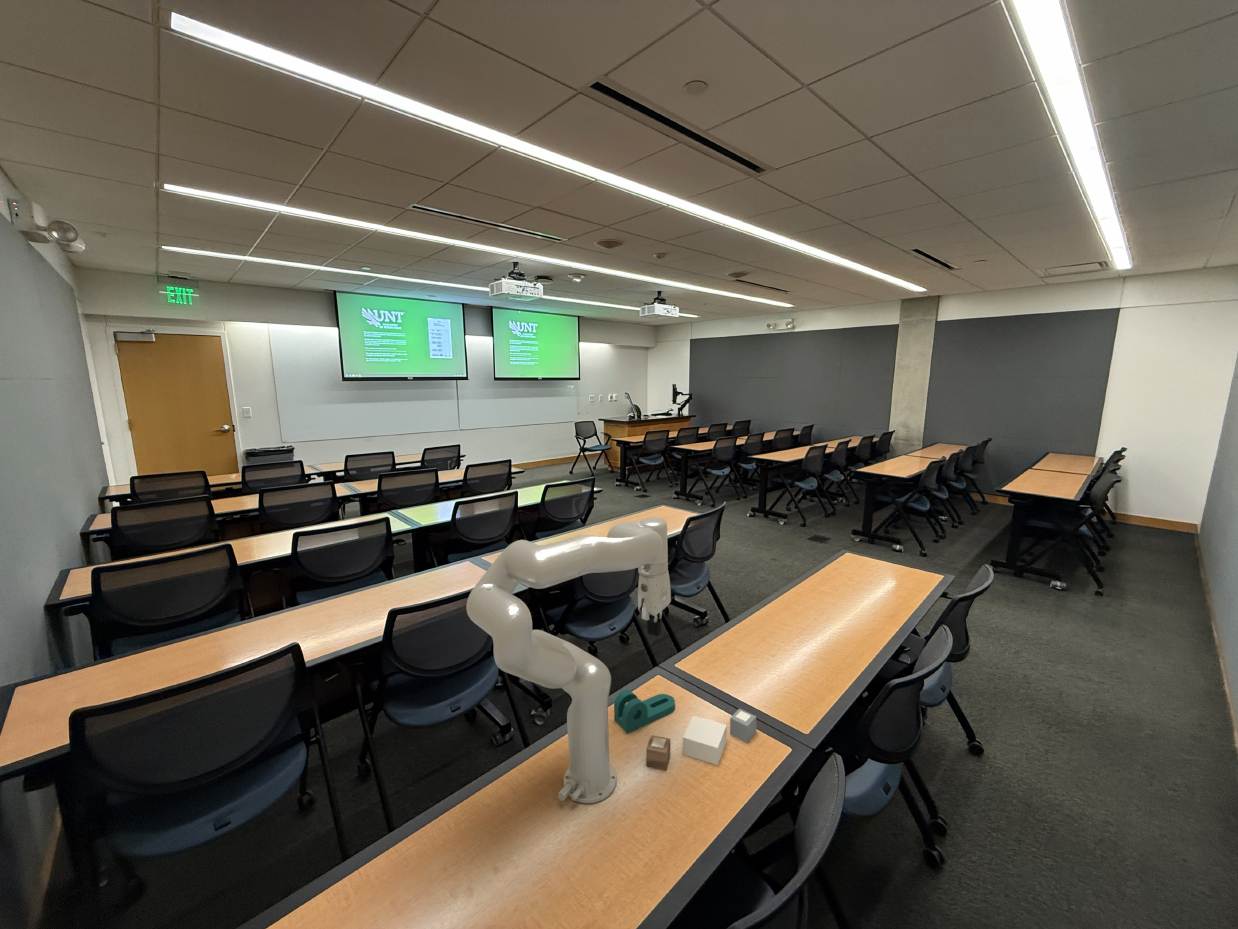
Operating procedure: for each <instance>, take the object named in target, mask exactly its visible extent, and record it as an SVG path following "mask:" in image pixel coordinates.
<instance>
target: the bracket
mask: <svg viewBox="0 0 1238 929" xmlns="http://www.w3.org/2000/svg"><path fill="white" fill-rule="evenodd" d="M613 709H614V710H613V713H614V721H615V722H616V723H617V724H618V725H619V727H620V728H621V729H622V730H623V731H624V732H625V733H626V734H627V735H628V734H630V733H633V732H634V731H635V732H636V731H637V730H639V729H641V728H643V727H646V726H647V725H649V724H652V723H654V722H656V721H658V720H660V719H662V718H665V717H668V716H669V715H672V714H673V713H674V712H675V710H676V700H675V698H674V697H673V696H672V695H670V694H667V693H659V694H655V695H654V696H651V697H649V698H647V699H643V700H641V699H640V698H638V696H637V695H636V694H635V693H634V692H633V691H632V690H629V689H625V690H623V691H620V693H618V695H617V696H616V698H615V700H614V703H613Z"/></svg>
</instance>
